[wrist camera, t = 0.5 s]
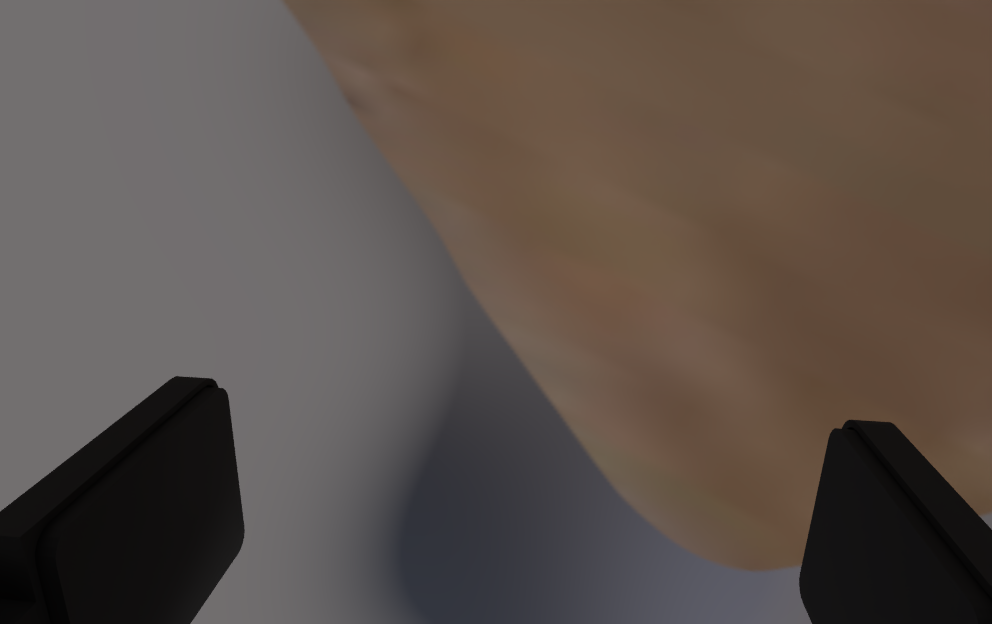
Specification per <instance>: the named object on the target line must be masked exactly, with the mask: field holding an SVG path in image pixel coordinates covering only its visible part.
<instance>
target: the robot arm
mask: <svg viewBox="0 0 992 624" xmlns="http://www.w3.org/2000/svg"><path fill="white" fill-rule="evenodd" d="M243 539H244V521H243V512H242V504H241V496H240V488H239V480H238V472H237V464H236V456H235V447H234V439H233V431H232V423H231V416H230V407H229V400H228V394H227V392H226V390H224V389H223V388H218V385H217V383H216V381H214V380H213V379H209V378H193V377H179V376H176V377H174V378H172V379H170V380H169V381H168V382H167V383H165V384H164V385H163V386H161V387H160V388H159V389H157V390H156V391H155V392H154V393H152V394H151V395H150V396H149V397H147V398H146V399H145V400H143V401H142V402H141V403H140V404H138V405H137V406H136V407H134V408H133V409H132V410H131V411H129V412H128V413H127V414H125V415H124V416H123V417H122V418H120V419H119V420H118V421H116V422H115V423H114V424H112V425H111V426H110V427H109V428H107V429H106V430H105V431H103V432H102V433H101V434H100V435H98V436H97V437H96V438H94V439H93V440H92V441H91V442H89V443H88V444H87V445H85V446H84V447H83V448H82V449H80V450H79V451H78V452H76V453H75V454H74V455H73V456H71V457H70V458H69V459H67V460H66V461H65V462H64V463H62V464H61V465H60V466H58V467H57V468H56V469H55V470H53V471H52V472H51V473H49V474H48V475H47V476H46V477H44V478H43V479H42V480H40V481H39V482H38V483H36V484H35V485H34V486H33V487H31V488H30V489H29V490H28V491H26V492H25V493H24V494H22V495H21V496H20V497H18V498H17V499H16V500H15V501H13V502H12V503H11V504H9V505H8V506H7V507H6V508H4V509H3V510H2V511H1V512H0V624H190V623H191V622H192V620H193V619H194V617H195V616H196V615H197V613H198V611H199V610H200V609H201V607H202V606H203V604H204V603H205V601H206V600H207V598H208V597H209V595H210V594H211V593H212V591H213V590H214V588H215V587H216V585H217V584H218V582H219V581H220V579H221V578H222V576H223V575H224V573H225V572H226V571H227V569H228V568H229V566H230V565H231V563H232V562H233V560H234V559H235V557H236V556H237V554H238V553H239V551H240V549H241V546H242V543H243ZM799 586H800V594H801V598H802V601H803V604H804V606H805V608H806V611H807V613H808V615H809V617H810V620H811V622H812V624H992V530H991V529H990V527H989V526H988V525H987V524H986V523H985V522H984V521H983V520H982V519H981V518H980V517H979V516H978V514H977V513H976V512H975V511H974V510H973V509H972V508H971V507H970V506H969V505H968V504H967V503H966V502H965V500H964V499H963V498H962V497H961V496H960V495H959V494H958V493H957V492H956V491H955V490H954V489H953V487H952V486H951V485H950V484H949V483H948V482H947V481H946V480H945V479H944V478H943V477H942V476H941V474H940V473H939V472H938V471H937V470H936V469H935V468H934V467H933V466H932V465H931V464H930V463H929V462H928V460H927V459H926V458H925V457H924V456H923V455H922V454H921V453H920V452H919V451H918V450H917V449H916V447H915V446H914V445H913V444H912V443H911V442H910V441H909V440H908V439H907V438H906V437H905V436H904V435H903V433H902V432H901V431H900V430H899V429H898V428H897V427H896V426H895V425H894V424H892V423H891V422H876V421H860V420H848V421H847V422H845V424H844V425H843V427H842V429H836V428H835V429H834V430H832V432H831V433H830V436H829V440H828V444H827V449H826V454H825V458H824V463H823V468H822V473H821V477H820V482H819V487H818V491H817V496H816V501H815V506H814V510H813V515H812V520H811V524H810V529H809V534H808V539H807V543H806V548H805V553H804V557H803V562H802V567H801V572H800V578H799Z"/></svg>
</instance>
